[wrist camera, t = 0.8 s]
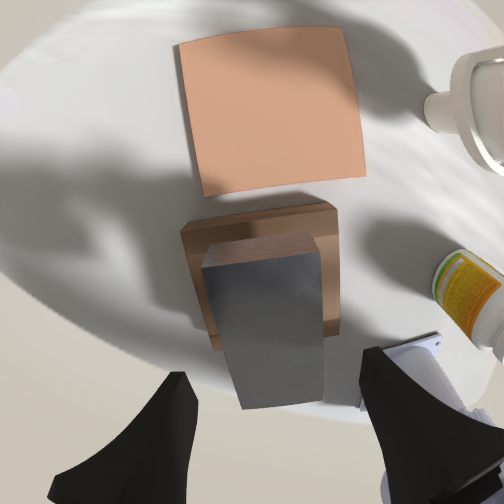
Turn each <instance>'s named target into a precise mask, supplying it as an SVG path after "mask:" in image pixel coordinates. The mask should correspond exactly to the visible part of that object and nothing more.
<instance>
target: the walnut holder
mask: <svg viewBox="0 0 504 504" xmlns="http://www.w3.org/2000/svg"><path fill="white" fill-rule="evenodd" d="M302 231H309V233H310V234H311V236H312V238H313V240H314V241H315V243H316V245H317V246H318V248H319V250H320V254H321V272H322V296H323V337H329V336H335V335H339V324H340V257H339V231H338V214H337V209H336V208H335V207H334V206H333V205H331V204H330V203H329V202H324V203H316V204H308V205H300V206H292V207H285V208H277V209H270V210H263V211H256V212H249V213H243V214H236V215H230V216H223V217H217V218H211V219H205V220H199V221H193V222H188V223H187V224H186V226H185V227H184V228H183V229H182V231H181V232H180V233H181V237H182V241H183V245H184V249H185V253H186V257H187V260H188V264H189V268H190V272H191V275H192V279H193V283H194V286H195V290H196V293H197V297H198V300H199V304H200V307H201V311H202V314H203V317H204V321H205V324H206V327H207V330H208V334H209V337H210V340H211V343H212V346H213V349H214V351H219V350H223V348H222V344H221V341H220V338H219V334H218V331H217V327H216V324H215V320H214V317H213V313H212V310H211V306H210V302H209V299H208V295H207V291H206V287H205V283H204V280H203V276H202V272H201V266H202V263H203V261H204V259H205V256H206V254H207V251H208V249H209V246H210V245H211V244H218V243H225V242H231V241H238V240H245V239H252V238H259V237H266V236H273V235H280V234H287V233H295V232H302Z"/></svg>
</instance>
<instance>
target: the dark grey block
mask: <svg viewBox="0 0 504 504" xmlns="http://www.w3.org/2000/svg"><path fill="white" fill-rule="evenodd" d="M201 272H202V276H203V280H204V283H205V287H206V291H207V295H208V299H209V302H210V306H211V310H212V313H213V317H214V320H215V324H216V327H217V331H218V334H219V338H220V341H221V344H222V348H223V351H224V354H225V358H226V361H227V364H228V367H229V371H230V374H231V377H232V380H233V383H234V386H235V389H236V392H237V396H238V399H239V402H240V405H241V407H242V409H258V408H268V407H278V406H286V405H294V404H301V403H307V402H314V401H319V400H322V392H323V296H322V272H321V254H320V250H319V248H318V246H317V245H316V243H315V241H314V240H313V238H312V236H311V234H310V233H309V231H302V232H295V233H287V234H280V235H273V236H266V237H259V238H252V239H245V240H238V241H231V242H225V243H218V244H211V245H210V246H209V249H208V251H207V254H206V256H205V259H204V261H203V263H202V266H201Z"/></svg>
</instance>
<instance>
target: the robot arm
mask: <svg viewBox="0 0 504 504" xmlns="http://www.w3.org/2000/svg"><path fill="white" fill-rule="evenodd" d="M441 340H442V335H441V334H440V333H439V334H436V335H433V336H429V337H426V338H423V339H420V340H417V341H413V342H410V343H406V344H403V345H399V346H396V347H392V348H388V349H384V350H381V349H380V348H379V347H378V346H377V347H373V348H369V349H364V351H363V358H362V365H361V372H360V378H359V385H360V389H361V393H362V400H361V404H360V412H366V411H367V412H368V414H369V417H370V419H371V422H372V425H373V427H374V430H375V432H376V435H377V438H378V441H379V443H380V446H381V449H382V453H383V458H384V463H385V467H386V471H385V472H384V474H383V477H382V481H381V487H380V489H381V490H380V491H381V498H382V502H383V504H504V429H502V428H498V427H496V426H495V424H494V423H493V421H492V420H491V418H490V417H489V415H488V414H487V412H486V411H485V410H484V409H477V408H475V409H473V410H472V411H471V412H469V411H468V410H467V409H466V407H465V405H464V404H463V402H462V400H461V399H460V397H459V395H458V394H457V392H456V390H455V389H454V387H453V385H452V384H451V382H450V380H449V379H448V377H447V376H446V374H445V372H444V371H443V369H442V368H441V366H440V365H439V363H438V362H437V360H436V359H435V358H436V356H437V353H438V350H439V347H440V344H441ZM197 417H198V399H197V397H196V395H195V393H194V391H193V389H192V387H191V384H190V382H189V380H188V378H187V376H186V374H185V371H184V372H170V373H169V375H168V376H167V378H166V379H165V380H164V381H163V383H162V384H161V385H160V387H159V388H158V390H157V391H156V392H155V394H154V395H153V396H152V398H151V399H150V400H149V402H148V403H147V404H146V405H145V406H144V408H143V409H142V410H141V411H140V413H139V414H138V415H137V416H136V417H135V418H134V419H133V421H132V422H131V423H130V424H129V425H128V426H127V427H126V428H125V429H124V430H123V431H122V432H121V433H120V434H119V435H118V436H117V437H116V438H115V439H114V440H113V441H111V442H110V443H109V444H108V445H107V446H105V447H104V448H103V449H102V450H100V451H99V452H97V453H96V454H95V455H93V456H92V457H90V458H89V459H87V460H86V461H84V462H82V463H80V464H79V465H77V466H75V467H73V468H71V469H69V470H67V471H65V472H63V473H60V474H58V475H56V476H55V477H54V480H53V482H52V485H51V488H50V490H49V493H48V496H47V498H48V499H49V500H50V501H52V502H53V503H55V504H186V488H187V472H188V465H189V460H190V455H191V450H192V445H193V440H194V435H195V430H196V425H197Z"/></svg>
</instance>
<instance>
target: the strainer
mask: <svg viewBox="0 0 504 504" xmlns="http://www.w3.org/2000/svg"><path fill="white" fill-rule="evenodd" d="M501 58H504V46H499V47H494V48H490V49H485V50H481V51H477V52H473V53H469V54H465V55H463V56H461V57H460V58H459V59H458V60H457V62H456V63H455V65H454V67H453V70H452V74H451V80H450V91H447V92H440V93H433V94H430V95H429V96H428V97H427V98H426V99H425V102H424V115H425V118H426V121H427V123H428V124H429V126H430V127H431V128H432V129H433V130H434V131H435V132H437V133H439V134H453V135H460V137H461V139H462V142H463V144H464V146H465V148H466V149H467V151H468V153H469V154H470V156H471V157H472V158H473V160H474V161H475V162H476V163H477V164H478V165H479V166H480V167H481V168H483V169H484V170H486V171H488V172H491V173H495V174H498V175H502V176H504V61H503V60H502V59H501ZM494 160H497V161H501V162H502V164H498V163H496V162H495V161H494Z"/></svg>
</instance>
